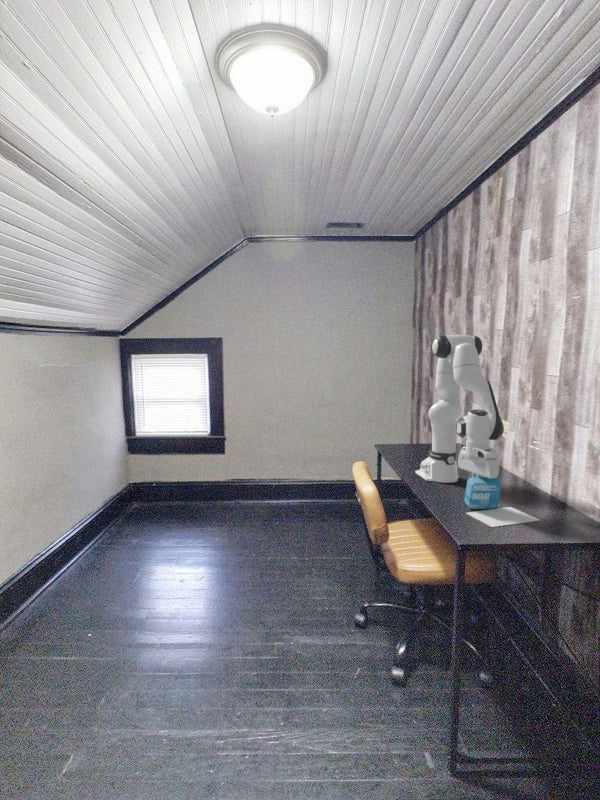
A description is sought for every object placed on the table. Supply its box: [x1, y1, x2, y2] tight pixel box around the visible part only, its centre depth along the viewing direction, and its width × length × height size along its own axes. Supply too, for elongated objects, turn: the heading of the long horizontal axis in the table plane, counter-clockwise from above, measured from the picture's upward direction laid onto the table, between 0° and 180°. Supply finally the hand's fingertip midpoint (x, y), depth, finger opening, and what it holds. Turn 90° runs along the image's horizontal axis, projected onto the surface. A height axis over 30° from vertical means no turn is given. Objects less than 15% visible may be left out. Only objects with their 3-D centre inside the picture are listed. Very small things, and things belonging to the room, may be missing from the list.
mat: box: [465, 506, 540, 528], centre depth 162 cm, size 14×22×1 cm, turn 108°
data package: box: [464, 476, 503, 510], centre depth 170 cm, size 12×4×12 cm, turn 92°
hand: (476, 484), depth 172 cm, fingers closed
